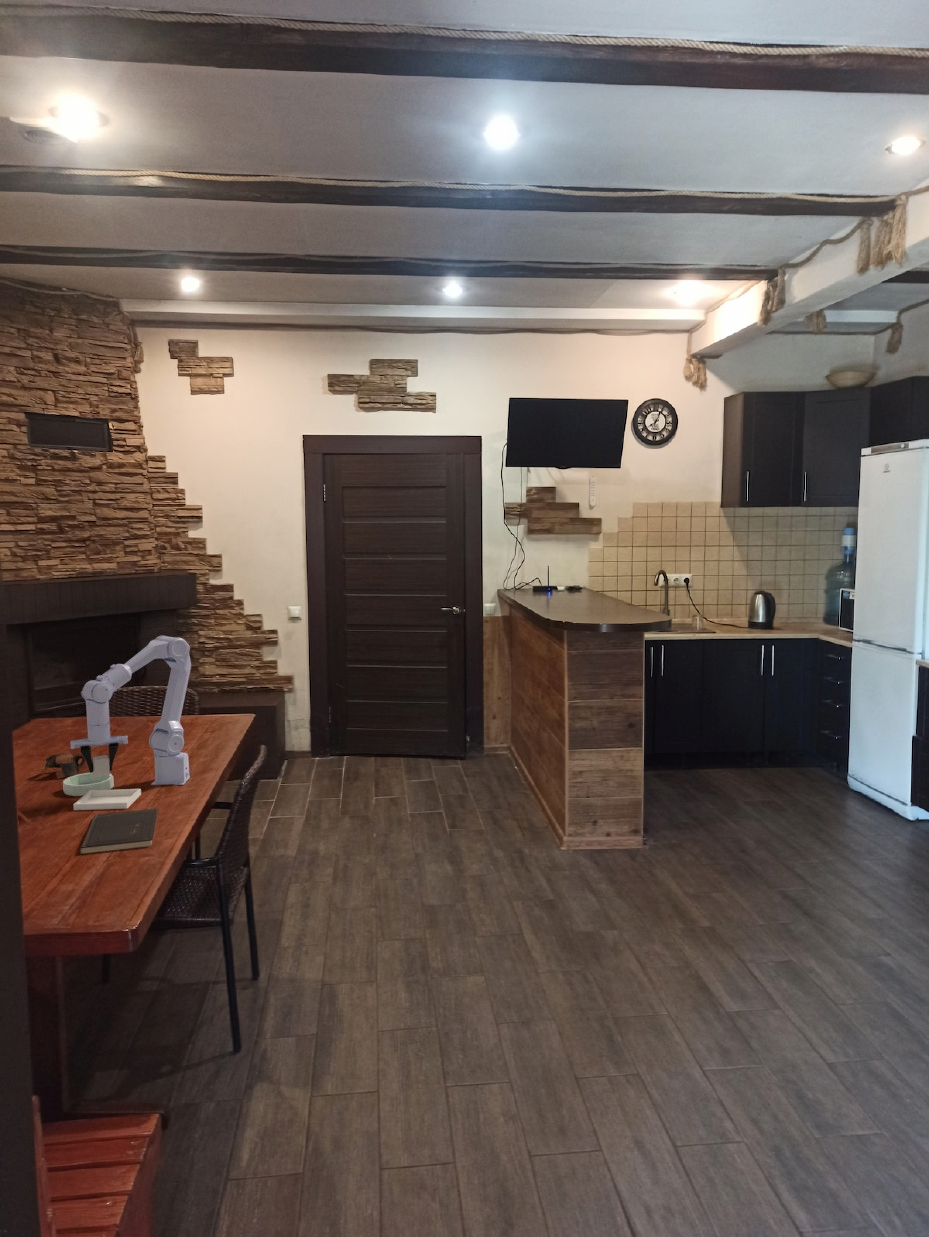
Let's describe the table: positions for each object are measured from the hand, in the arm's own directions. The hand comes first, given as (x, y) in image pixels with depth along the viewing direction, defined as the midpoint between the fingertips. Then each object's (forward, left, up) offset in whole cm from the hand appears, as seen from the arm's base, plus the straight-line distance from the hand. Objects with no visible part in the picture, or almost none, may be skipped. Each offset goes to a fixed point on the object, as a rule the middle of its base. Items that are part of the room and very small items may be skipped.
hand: (101, 770), depth 227 cm
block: (0, 0, -1) cm, 1 cm away
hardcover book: (-14, +27, -9) cm, 32 cm away
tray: (-3, +4, -8) cm, 10 cm away
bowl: (+7, -9, -8) cm, 14 cm away
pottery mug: (+20, -27, -9) cm, 35 cm away
